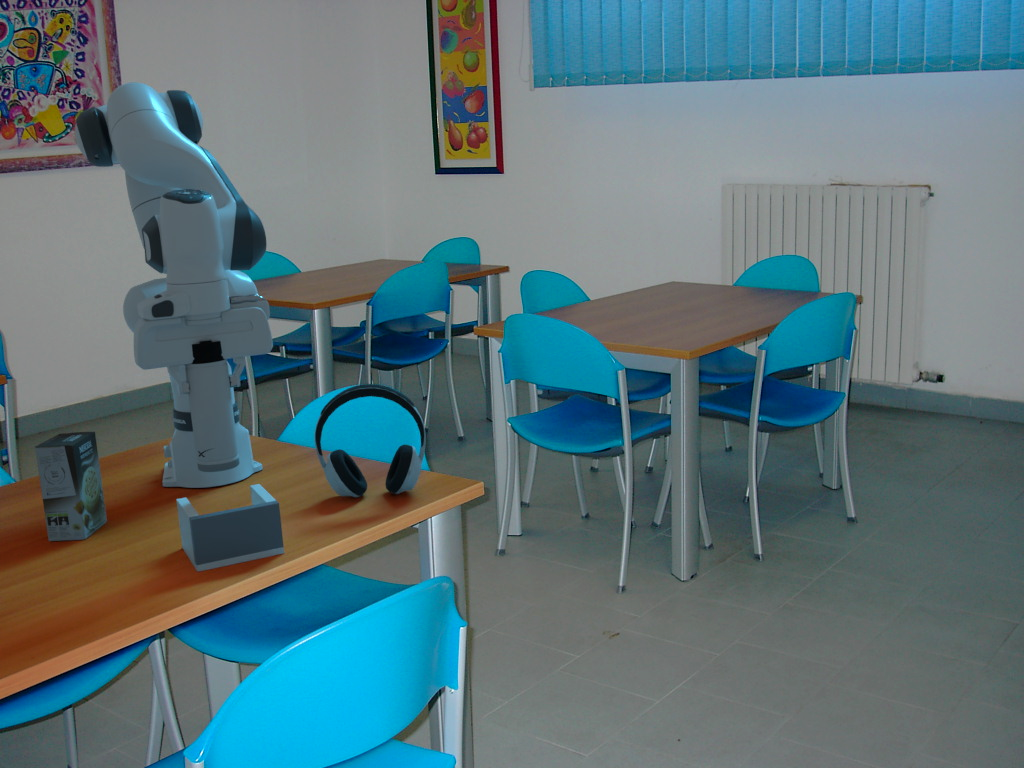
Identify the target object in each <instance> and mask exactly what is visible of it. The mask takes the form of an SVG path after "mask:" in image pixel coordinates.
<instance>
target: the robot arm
mask: <svg viewBox="0 0 1024 768" xmlns="http://www.w3.org/2000/svg"><path fill="white" fill-rule="evenodd" d="M203 122H204V121H203V116H202V112H201V110H200V108H199V105H198V104H197V103H196V101H195V100H194V98H193V97H192V95H191V94H190V93H188V92H187V91H186V90H181V89H180V90H179V89H176V90H175V89H170V90H166V92H157V90H156V89H154V88H153V87H152V86H150V85H148V84H145V83H143V82H127V83H123V84H121V85H119V86H117V87H116V88H114V89H113V91H112V92H111V93H110V95H109V97H108V99H107V103H106V104H104V105H100V106H98V107H96V106H92V107H89V108H87V109H85V110H83V111H81V112H80V113H79V114H78V115H77V117H76V119H75V127H74V137H75V142H76V145H77V147H78V149H79V150H80V153H82V155H83V156H84V157H85V158H86V159H87V161H88V163H90V164H91V165H93V166H94V167H102V168H105V167H108V168H109V167H113V165H120V167H121V168H122V169H123V171H124V175H125V176H124V177H125V184H126V190H127V196H128V202H129V204H130V209H131V212H132V216H133V217H134V222H135V226H136V228H137V232H138V234H139V239H140V242H141V244H142V249H143V250H144V258H145V259H144V260H145V263H146V264H147V265H148V266H150V267H151V268H152V269H153V270H155V271H156V272H158V273H160V274H162V275H163V274H164V275H166V277H163V278H162V277H161V278H154V279H151V280H148V281H146V282H142V283H140V284H137V285H135V286H132V287H130V289H129V290H128V291H127V293H126V295H125V297H124V301H123V305H122V311H123V312H122V313H123V318H124V321H125V323H126V325H127V327H128V329H130V331H131V332H132V333H133V355H134V356H133V357H134V363H135V364H136V365H137V367H139V368H140V369H142V370H144V371H145V370H146V371H147V370H153V369H162V368H166V369H167V373H168V375H169V380H170V385H171V391H172V397H173V398H172V399H173V405H174V406H173V407H174V408H173V409H172V420H173V427H174V429H175V430H174V433H173V435H172V437H171V440H170V441H169V444H168V445H167V444H166V445H164V446H163V454H164V458H166V459H169V458H171V459H170V460H167V462H166V463H164V468H163V469H164V470H163V475H162V487H166V488H168V487H169V488H172V487H173V488H174V487H176V488H177V487H181V488H189V489H190V488H191V489H192V488H193V489H194V488H196V489H199V488H200V489H201V488H212V487H219V486H225V485H229V484H233V483H236V482H240V481H242V480H245V479H247V478H248V477H250V476H251V475H252V474H254V473H256V472H260V471H261V470H263V468H264V467H263V464H262V463H261V462H258V461H256V460H254V456H253V455H254V454H253V451H252V442H251V437H250V432H249V429H247V428H246V427H245V426H243V425H242V424H240V422H239V421H240V409H239V405H238V402H237V401H236V400H235V391H234V389H235V388H236V387H237V388H239V387H241V375H242V372H243V370H244V369H245V366H246V357H252V356H260V355H267V354H270V353H271V351H272V349H273V347H274V342H273V337H272V331H271V328H270V327H271V326H270V324H269V319H270V315H271V312H270V311H271V309H270V304H269V302H268V299H266V298H265V297H263V296H260V295H259V292H258V289H257V286H256V285H255V282H254V281H253V280H252V279H251V278H252V277H249V275H248V274H246V273H245V272H244V271H251V269H253V268H254V267H255V266H256V265H257V264H258V263H259V262H260V261H261V260H262V259H263V257H264V256H265V254H266V251H267V237H266V236H267V235H266V231H265V227H264V224H263V222H262V220H261V218H260V217H259V215H258V214H257V213H256V212H255V211H254V210H253V209H252V208H251V207H250V206H249V205H248V204H247V203H246V202H245V200H244V199H243V198H242V196H241V195H240V193H239V192H238V190H237V188H236V187H235V186H234V184H233V183H232V181H231V180H230V178H229V176H228V175H227V174H226V172H225V171H224V170H223V168H222V167H221V165H220V163H219V162H218V160H216V158H215V157H214V156H213V154H212V153H211V151H209V149H206V148H205V147H202V146H201V145H199V143H200V141H201V139H202V137H203V134H202V132H203V126H204V123H203ZM242 271H243V272H242ZM208 340H212V342H216V341H221V349H222V354H221V355H222V356H223V358H224V359H227V362H226V363H227V364H228V372H229V380H230V389H231V397H232V405H233V413H234V421H235V430H236V438H237V446H238V455H239V462H240V463H239V465H238V466H237V467H235V468H232V469H229V470H225V471H218V472H202V471H200V470H199V469H198V465H197V457H196V449H195V442H194V434H193V426H192V418H191V411H190V403H189V395H188V394H190V390H189V389H188V388H189V383H188V382H187V380H186V372H185V367H186V366H185V364H192V362H193V360H194V358H193V352H192V344H199V343H200V341H208ZM228 359H229V360H230V359H233V363H234V364H235V367H234V370H233V371H232V365H230V363H229V362H228Z"/></svg>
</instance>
